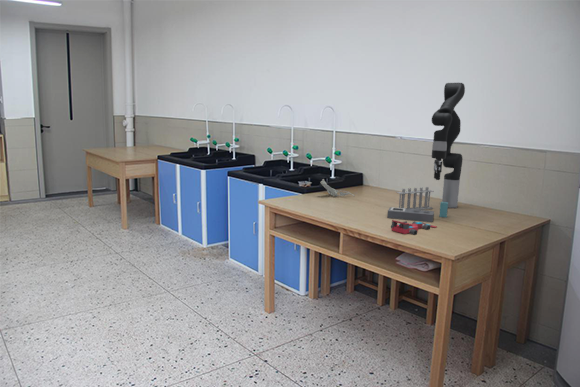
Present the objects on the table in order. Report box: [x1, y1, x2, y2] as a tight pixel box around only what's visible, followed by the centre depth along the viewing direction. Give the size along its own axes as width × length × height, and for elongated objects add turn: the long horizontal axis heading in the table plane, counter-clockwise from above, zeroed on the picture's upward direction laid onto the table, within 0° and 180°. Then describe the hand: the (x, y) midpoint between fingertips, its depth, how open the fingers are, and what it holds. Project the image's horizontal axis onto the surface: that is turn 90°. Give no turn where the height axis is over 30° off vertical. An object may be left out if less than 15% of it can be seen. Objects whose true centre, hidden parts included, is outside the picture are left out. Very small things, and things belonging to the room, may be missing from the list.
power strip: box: [386, 206, 435, 223], centre depth 266 cm, size 10×24×4 cm, turn 71°
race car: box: [390, 219, 438, 236], centre depth 243 cm, size 14×6×25 cm
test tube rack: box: [396, 186, 434, 210], centre depth 288 cm, size 25×4×13 cm, turn 116°
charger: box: [439, 201, 449, 218], centre depth 272 cm, size 4×4×8 cm
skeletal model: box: [319, 178, 355, 197], centre depth 324 cm, size 16×9×25 cm
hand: (436, 179), depth 266 cm, fingers open, 8 cm apart
